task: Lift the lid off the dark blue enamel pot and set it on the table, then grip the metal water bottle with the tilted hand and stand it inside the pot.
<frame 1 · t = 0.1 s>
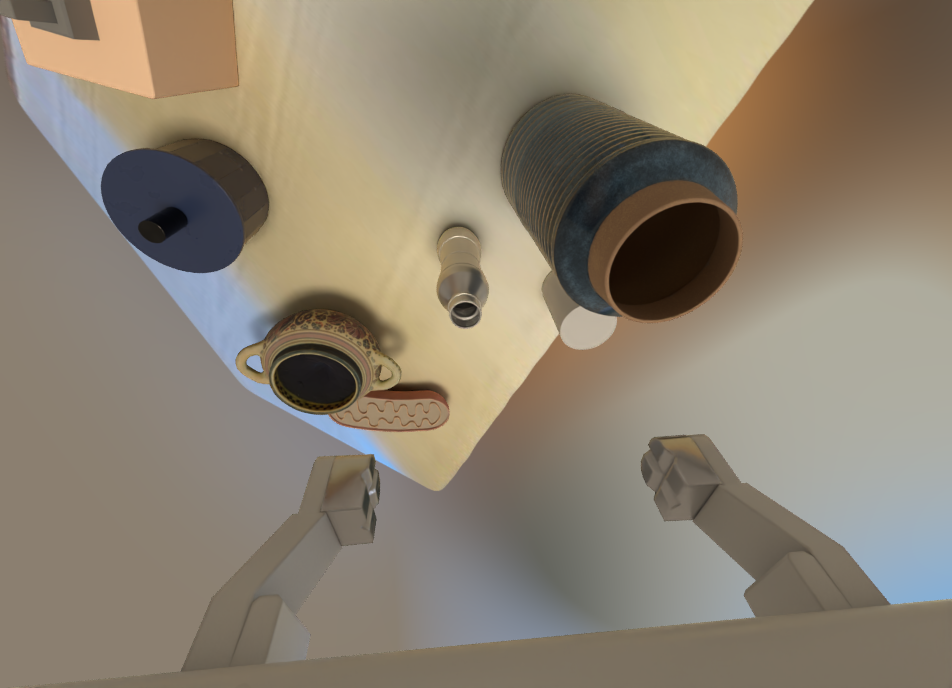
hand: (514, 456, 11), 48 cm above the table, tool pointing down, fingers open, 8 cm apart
lid: (178, 215, 42), point 9 cm above the table, touching pot
soap dispenser: (170, 20, 40), on the table
metal water bottle: (458, 243, 57), on the table
patterned ceramic jar: (334, 333, 65), on the table
vase: (558, 164, 51), on the table
mitochondrion model: (392, 395, 76), on the table
light grey upright cylinder: (565, 285, 63), on the table
pot: (217, 191, 50), on the table
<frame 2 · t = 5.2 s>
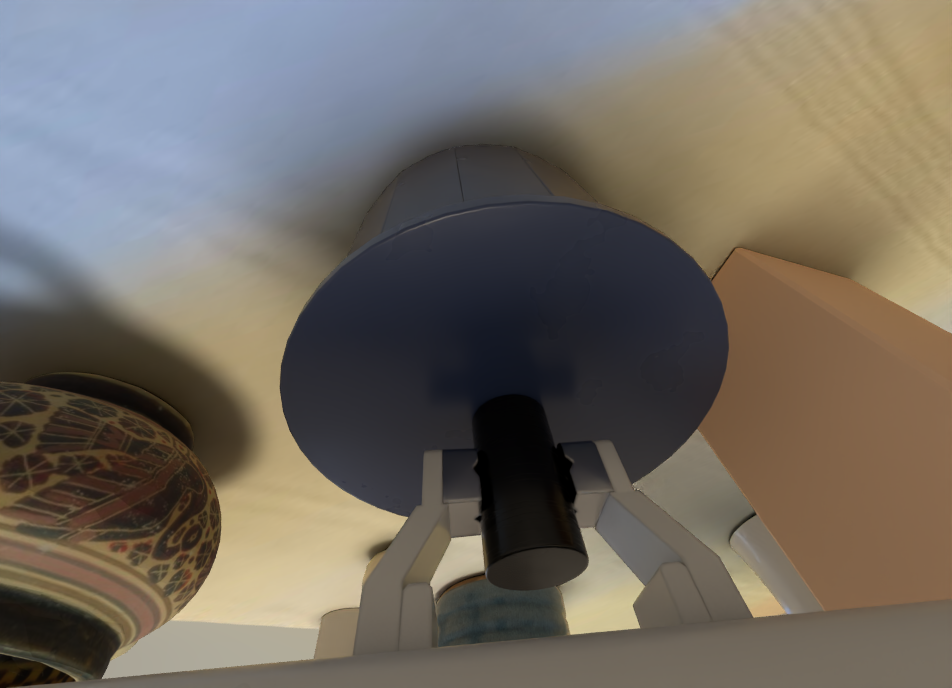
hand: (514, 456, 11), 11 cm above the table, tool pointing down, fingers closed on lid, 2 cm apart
lid: (505, 406, 13), point 10 cm above the table, touching gripper, pot
soap dispenser: (766, 294, 23), on the table
patterned ceramic jar: (116, 420, 25), on the table
vase: (497, 594, 49), on the table
light grey upright cylinder: (354, 617, 50), on the table
pot: (480, 275, 20), on the table
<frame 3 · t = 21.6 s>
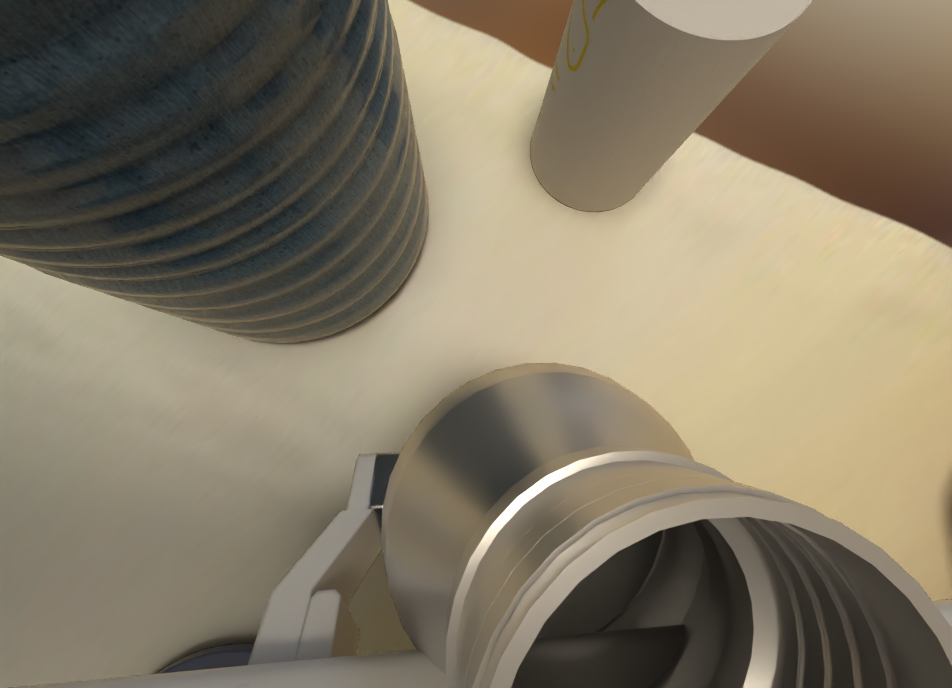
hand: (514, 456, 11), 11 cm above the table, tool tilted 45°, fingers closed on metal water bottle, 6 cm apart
metal water bottle: (484, 434, 22), on the table, touching gripper
vase: (298, 217, 23), on the table
light grey upright cylinder: (589, 156, 25), on the table
when the fingers open (12 cm above the table, at t = 33.1 s): metal water bottle stays where it is, resting on pot.
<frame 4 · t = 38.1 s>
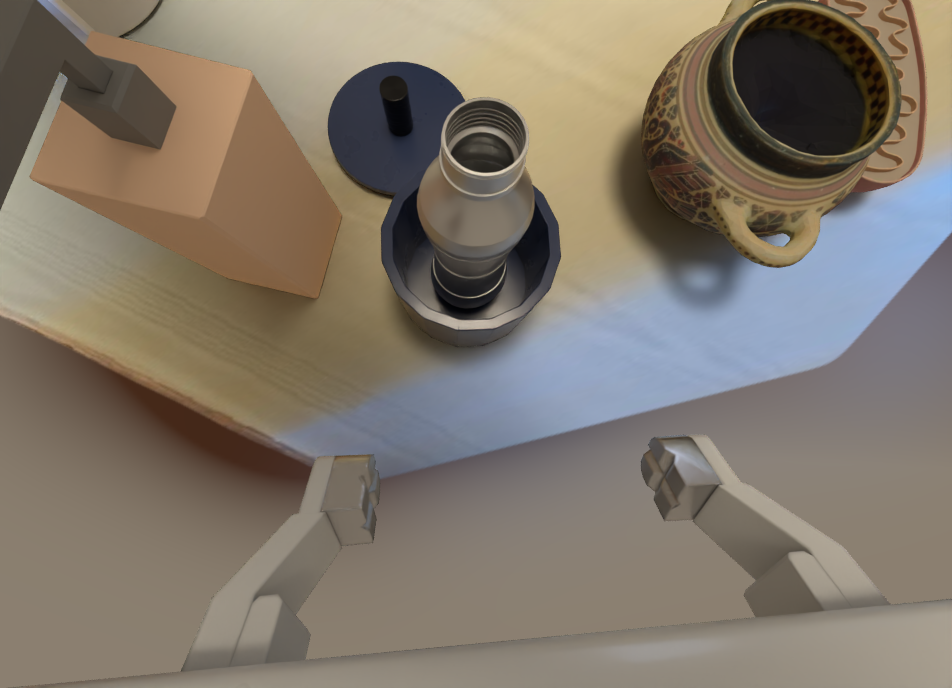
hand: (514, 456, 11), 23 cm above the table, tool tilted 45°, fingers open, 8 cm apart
lid: (401, 129, 37), point 1 cm above the table
soap dispenser: (280, 267, 35), on the table
metal water bottle: (467, 280, 35), resting on pot
patterned ceramic jar: (693, 182, 39), on the table
mitochondrion model: (825, 112, 41), on the table
pot: (466, 281, 36), on the table
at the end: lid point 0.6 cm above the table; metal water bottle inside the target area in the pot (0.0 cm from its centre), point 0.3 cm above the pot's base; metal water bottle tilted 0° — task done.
